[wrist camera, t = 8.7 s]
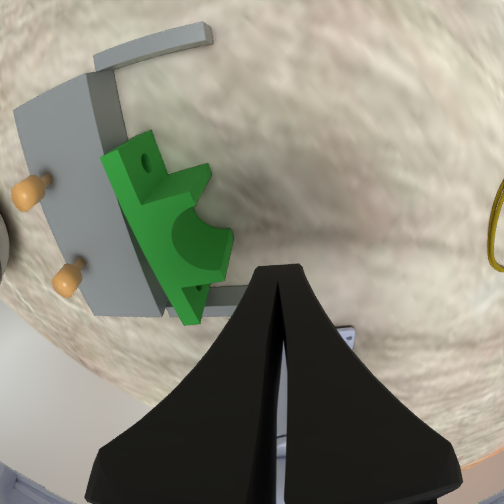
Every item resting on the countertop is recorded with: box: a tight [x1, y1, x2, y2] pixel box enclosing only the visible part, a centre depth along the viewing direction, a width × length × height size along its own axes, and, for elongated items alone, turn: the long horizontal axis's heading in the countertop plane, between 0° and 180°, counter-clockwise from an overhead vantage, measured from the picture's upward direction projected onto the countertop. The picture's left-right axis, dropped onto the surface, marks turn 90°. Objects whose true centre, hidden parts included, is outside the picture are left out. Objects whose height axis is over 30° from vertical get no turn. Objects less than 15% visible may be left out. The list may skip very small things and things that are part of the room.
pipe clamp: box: [100, 130, 234, 326], centre depth 17 cm, size 11×4×5 cm, turn 15°
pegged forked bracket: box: [11, 22, 248, 317], centre depth 15 cm, size 18×12×6 cm, turn 7°
